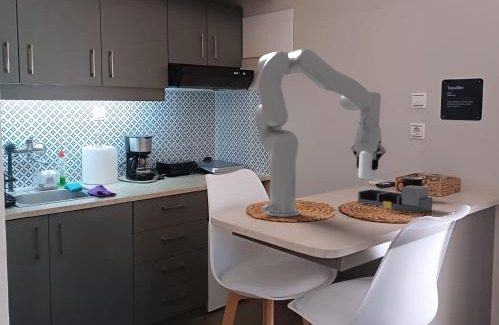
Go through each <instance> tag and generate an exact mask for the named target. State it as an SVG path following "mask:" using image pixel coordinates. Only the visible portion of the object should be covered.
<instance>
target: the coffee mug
mask: <svg viewBox="0 0 499 325" xmlns="http://www.w3.org/2000/svg"><path fill="white" fill-rule="evenodd" d="M423 179H424V178H423V177H419V176H403V177H401V181H398V182H397V183H396V188H397V190H398V191H399V192H400V193H402V189H401V190H400V187H399V184H400V183H401V184H402V187H405V186H410V185H413V186H421V187H423V186H422V185H423V181H424V180H423Z"/></svg>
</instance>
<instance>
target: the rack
mask: <svg viewBox="0 0 499 325" xmlns="http://www.w3.org/2000/svg"><path fill="white" fill-rule="evenodd" d="M401 191H402V193H401V192H400V193H399V192H394V191H393V192H392V191H386V190H378V189H366V190H360V191H358V192H357V193H358V194H357V204H358V203H363V204H370V205H376V206H382V207H386V208H392V209H391V210H393V209H397V210H396V211H399V210H404V211H403V212H406V211H411V212H410V213H412V212H416V213H415V214H418V213H421V214H423V213H422V212H425V213H428V212H432V210H433V197H432V196H429V187H427V186H422V187H421V186H413V185H410V186H405V187H403V186H401ZM386 208H385V209H386ZM427 211H428V212H427Z"/></svg>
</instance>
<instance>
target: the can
mask: <svg viewBox="0 0 499 325" xmlns="http://www.w3.org/2000/svg"><path fill="white" fill-rule="evenodd" d="M372 160H374V158H373V155H372V153H370V152H366V151H361V152H360V155H359V168H358V173H357V174H358V176H357V177H358V180H368V181H371V180H375V179H376V170H372Z"/></svg>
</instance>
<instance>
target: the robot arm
mask: <svg viewBox="0 0 499 325" xmlns="http://www.w3.org/2000/svg"><path fill="white" fill-rule="evenodd" d="M257 62H258V63H257V68H258V71H259V76H258V80H257V90H258V96H259V99H260V104H259V105H258V106H257V108H256V109H255V115H254V119H255V122H256V126H257V130H258V135H259V138H260V140H261V144H262V146H263V148H264V150H265V151H267V152H268V153H270V154H271V160H270V165H269V166H270V170H269V171H270V172H269V174H270V176H269V180H270V182H269V184H270V185H269V202H267V205H263V206H261V208H260V209H261V212H265V214H266V215H268V216H272V217H276V218H277V217H278V218H279V217H280V218H288V217H290V218H291V217H296V216H298V215H300V210H299V209H296V192H297V191H296V188H297V187H296V180H297V178H296V176H297V156H298V151H299V139H298V137H297V135H296V134H295V133H294V132H293V131H291V130H287V129H283V128H282V126H284V125H285V124H287V123H288V120H289V113H288V108H287V105H286V102H285V97H284V94H283V93H284V92H283V89H282V80H283V78H284V76H287V75H292V74H297V73H302V74H303V75H304V77H307V79H309V80H310V81H312V82H313V83H314V84H315V85H317V87H319V88H321V89H322V90H326V91H329V92H333V93H336V94H338V95H340V98H339V103H340V105H341V107H342V108H343V109H345V110H347V111H359V112H360V114H359V120H357V124H358V125H359V126H357V128H356V132H355V138H354V144H353V145H352V146H351V147H350V150H351V151H352V152H353V154H354V156H355V158H356V169H359V155H360V152H361V151H366V152H370V153H372V155H373V158H374V160H372V170H375V171H377V170H378V168H379V160H381V158H382V157H383V155H384V154H386V153H387V149H386V148H385V147H384V146H383V145H382V143H383V142H382V140H383V138H382V130H381V127H380V121H381V120H380V119H381V116H380V115H381V100H382V99H381V98H382V96H381V94H380V92H378V91H377V92H376V91H368V90H367V89H366V88H365V87H364V86H363V85H362V84H361V83H359V82H358V81H356V80H355V79H353V78H351V77H349V76H347V75H345V73H342V72H341V71H338V70H336V69H334V67H332V66H331V65H330V64H329V63H327V62H326V61H325V60H323V59H322V58H321V56H320V55H318V54H316V52H314V51H313V50H312V49H309V48H299V49H296V50H291V51H287V52H285V51H283V50H282V51H281V50H277V51H273V52H270V53H267V54H264V55H263V56H260V58H259V60H258V61H257Z"/></svg>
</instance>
